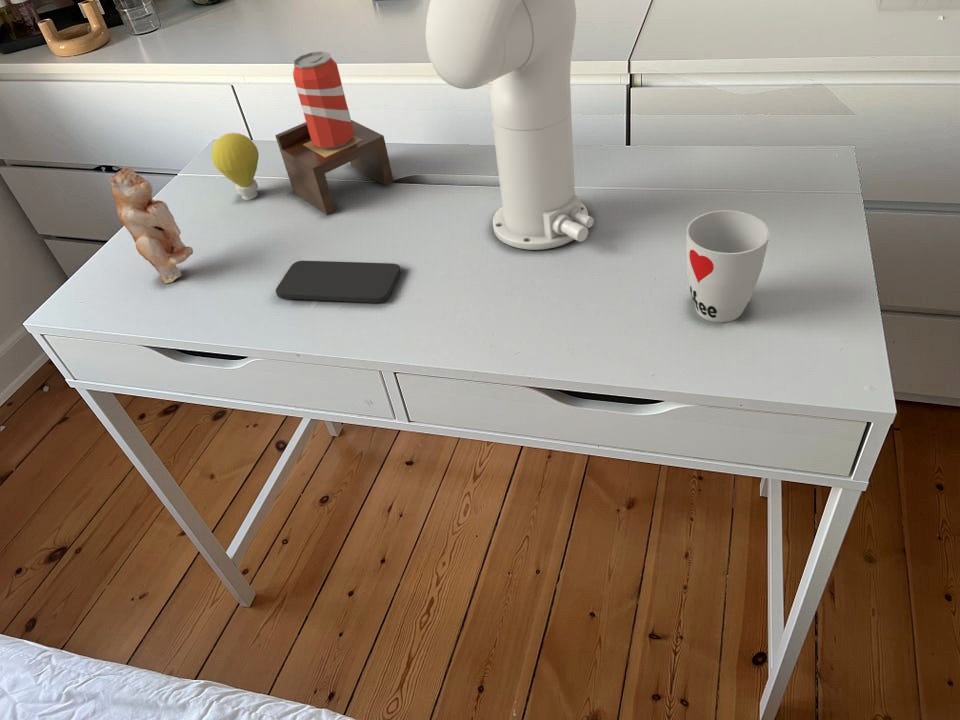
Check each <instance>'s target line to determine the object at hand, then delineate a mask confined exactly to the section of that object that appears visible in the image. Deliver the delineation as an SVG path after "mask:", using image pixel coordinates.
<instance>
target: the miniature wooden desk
mask: <svg viewBox="0 0 960 720" xmlns="http://www.w3.org/2000/svg"><path fill="white" fill-rule="evenodd" d="M348 111H349V112H350V110H349V109H348ZM349 115H350V113H349ZM350 116H351V115H350ZM350 119H351V117H350ZM351 123H352V127H353V131H354V136H353V137H352V138H351V139H350V141H349V142H347V143H346V144H345V145H343V146H341V147H338V148H334V149H324V148H321V147H319V146H316V145H313V144H312V140H311V137H310V133H309V130H308V127H307V123H306V121H305V122H303V123H299V124H298V125H295V126H293V127H290V128H289V129H286V130H284V131H282V132H279V133H277V134H275V138H276V143H277V146H278V148H279V152H280V155H281V158H282V161H283V165H284V167H285V170H286V173H287V176H288V180H289V182H290V186H291V189H292V192H293V194H294V195H296V196H298V197H299V198H301V199H302V200H303V201H305V202H307V203H308V204H310V205H311V206H312V207H314V208H315V209H317V210H318V211H320V212H322V213H324V215H327V216H328V215H330V214H332V213H335V212H336V208H335V204H334V201H333V197H332V194H331V190H330V187H329V183H328V179H327V177H326V174H327V173H329V172H331V171H334V170H336V169H337V168H338V169H339V168H340V167H342V166H344V165H346V164H349V163H350V166H351V167H352V168H354V169H356V170H357V171H359V172H361V173H363V174H365V175H366V176H368V177H370V178H372V179H374V180H376V181H377V182H379V183H380V184H382V185H384V186H388V185H390V184H392V183H394V182H395V180H394V175H393V172H392V167H391V163H390V158H389V154H388V148H387V145H386V140H385V135H383V134H381V133H379V132H377V131H375V130H373V129H371V128H369V127H367V126H365V125H362V124H361V123H359V122H358V121H355V120H353V119H351Z"/></svg>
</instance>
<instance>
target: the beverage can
mask: <svg viewBox="0 0 960 720" xmlns="http://www.w3.org/2000/svg"><path fill="white" fill-rule="evenodd" d="M292 77H293V80H294V81H293V82H294V85H295V88H296V92H297V95H298V98H299V102H300V105H301V109H302V114H303V116H304V120H305V122H306V123H307V127H308V130H309V133H310V137H311V140H312V144H313V145H316V146H319V147H321V148H324V149H334V148H338V147H341V146H343V145H345V144H346V143H347V142H349V141H350V139H351V138H352V137H353V136H354V131H353V127H352V123H351V120H352V119H350V118H351V115H349V114H350V110H349V107H348V103H347V100H346V95H345V92H344V91H345V90H344V87H343V83H342V79H341V75H340V71H339V67H338V64H337V62H336V61H335V60H334V59H333V58H332V56H331V53H330V52H327V51H323V50H321V51H312V52H308V53H305V54H301V55H299V56H298V57H297V58H295V59H294V60H293V71H292ZM348 110H349V111H348Z"/></svg>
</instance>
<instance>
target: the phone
mask: <svg viewBox="0 0 960 720" xmlns="http://www.w3.org/2000/svg"><path fill="white" fill-rule="evenodd" d="M401 270H402V269H401V267H400V265H399V264H397V263H390V262H360V261H359V262H357V261H329V260H326V261H325V260H298V261H295V262H294V263H292V264H291V265H290V267H289V269H287V271H286V273H285V274H284V276H283V278H282V279H281V281H280V282H279V283H278V285H277V286H276V288H275V294H276V296H277V297H278V298H279V299H287V300H288V299H289V300H308V301H311V300H314V301H333V302H352V303H353V302H354V303H355V302H356V303H376V304H377V303H383V302H385V301H388V299H389V298H390V296H391V294H392V292H393V290H394V288H395V286H396V283H397V282H398V279H399V277H400V275H401V272H402V271H401Z"/></svg>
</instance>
